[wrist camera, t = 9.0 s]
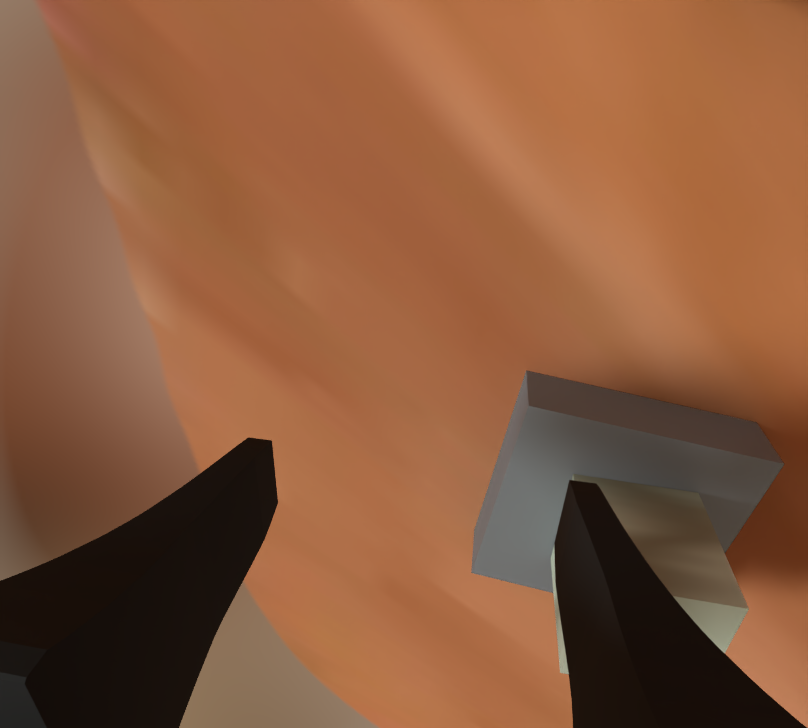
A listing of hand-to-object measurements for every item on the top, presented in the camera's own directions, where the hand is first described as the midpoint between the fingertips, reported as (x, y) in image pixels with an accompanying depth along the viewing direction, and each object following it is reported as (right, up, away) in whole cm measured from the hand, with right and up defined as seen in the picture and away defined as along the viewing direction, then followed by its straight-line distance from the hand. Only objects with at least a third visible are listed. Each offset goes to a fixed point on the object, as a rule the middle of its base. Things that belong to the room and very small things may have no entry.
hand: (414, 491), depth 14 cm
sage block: (+8, -3, +8) cm, 12 cm away
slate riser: (+8, -2, +11) cm, 14 cm away
